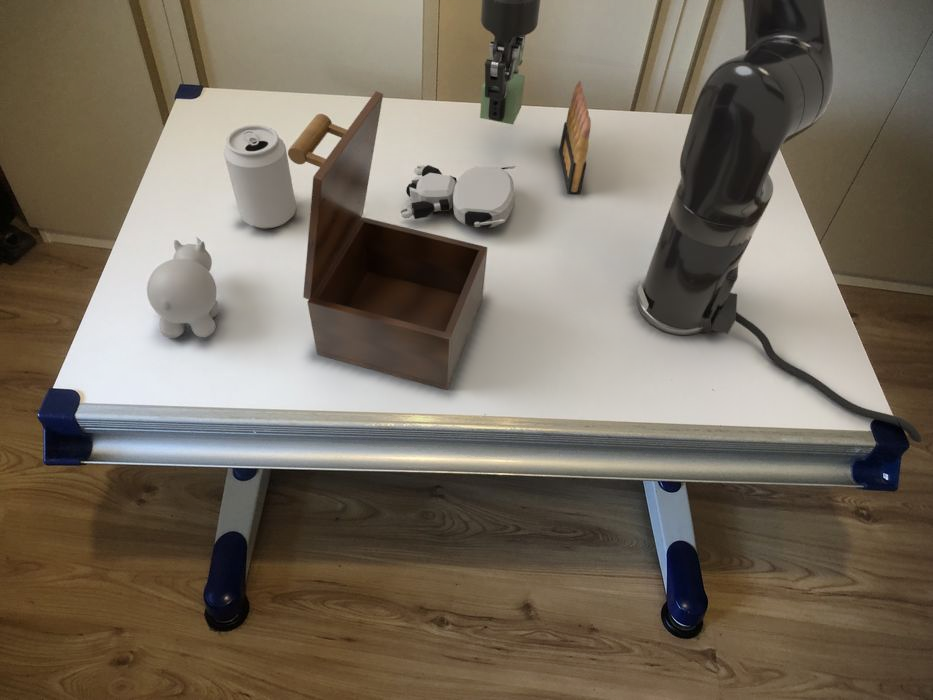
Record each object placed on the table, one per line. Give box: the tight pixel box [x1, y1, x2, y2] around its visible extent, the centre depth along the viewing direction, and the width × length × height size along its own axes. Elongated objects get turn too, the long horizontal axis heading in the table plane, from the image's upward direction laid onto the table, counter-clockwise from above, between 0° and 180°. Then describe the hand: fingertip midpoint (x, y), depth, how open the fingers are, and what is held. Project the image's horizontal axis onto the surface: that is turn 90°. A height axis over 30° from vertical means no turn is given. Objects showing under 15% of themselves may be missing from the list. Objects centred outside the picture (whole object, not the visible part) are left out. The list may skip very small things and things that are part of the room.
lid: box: [287, 90, 384, 301], centre depth 69 cm, size 16×15×5 cm
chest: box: [307, 216, 488, 390], centre depth 78 cm, size 16×15×9 cm
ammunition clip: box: [558, 80, 592, 194], centre depth 98 cm, size 11×2×12 cm, turn 2°
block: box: [479, 72, 526, 125], centre depth 99 cm, size 5×5×5 cm
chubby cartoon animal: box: [146, 236, 220, 339], centre depth 79 cm, size 7×12×8 cm, turn 179°
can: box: [223, 124, 297, 229], centre depth 89 cm, size 8×8×12 cm
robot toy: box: [399, 164, 517, 229], centre depth 94 cm, size 12×4×15 cm
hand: (501, 108), depth 100 cm, fingers closed on block, 5 cm apart
